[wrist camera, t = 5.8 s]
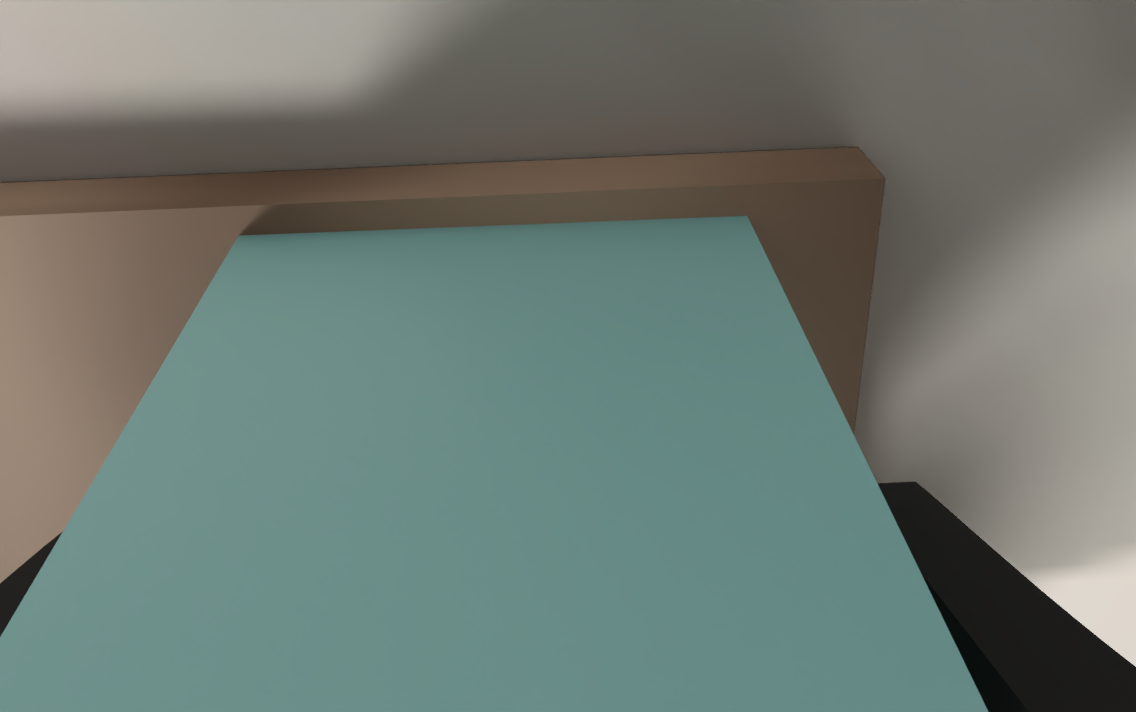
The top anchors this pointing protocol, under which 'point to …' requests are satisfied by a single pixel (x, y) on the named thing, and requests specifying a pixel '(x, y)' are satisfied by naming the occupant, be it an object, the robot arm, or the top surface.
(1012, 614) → the robot arm
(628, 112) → the top surface
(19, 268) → the board
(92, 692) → the teal foam cube
